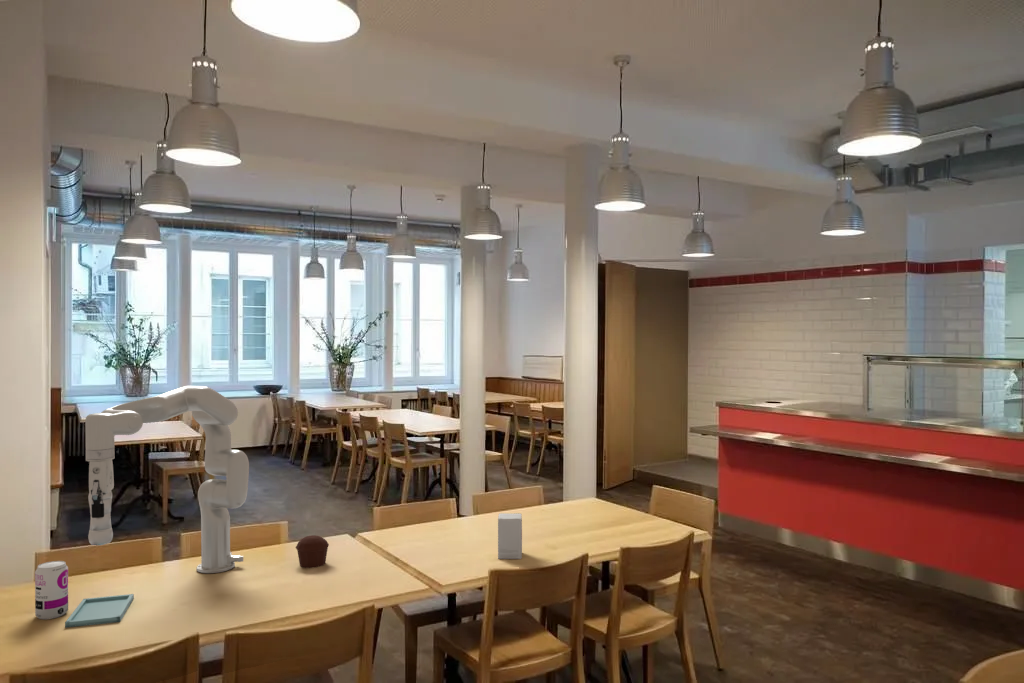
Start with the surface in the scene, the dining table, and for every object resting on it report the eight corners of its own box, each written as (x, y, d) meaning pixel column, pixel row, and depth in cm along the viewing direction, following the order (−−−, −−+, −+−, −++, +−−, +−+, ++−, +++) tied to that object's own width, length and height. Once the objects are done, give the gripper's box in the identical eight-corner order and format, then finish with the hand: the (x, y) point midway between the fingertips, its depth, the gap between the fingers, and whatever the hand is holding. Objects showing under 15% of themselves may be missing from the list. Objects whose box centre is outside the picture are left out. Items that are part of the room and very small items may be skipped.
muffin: (333, 560, 269) (333, 533, 269) (322, 569, 258) (322, 541, 258) (302, 559, 270) (302, 532, 270) (290, 568, 259) (290, 540, 259)
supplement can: (73, 609, 221) (73, 560, 221) (57, 620, 212) (57, 568, 212) (46, 610, 220) (46, 560, 220) (29, 620, 212) (28, 568, 212)
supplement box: (522, 559, 268) (521, 518, 268) (497, 559, 269) (497, 518, 269) (522, 552, 278) (522, 512, 278) (498, 552, 278) (498, 512, 278)
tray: (133, 598, 230) (133, 593, 230) (120, 621, 211) (120, 616, 211) (83, 603, 226) (83, 598, 226) (65, 627, 206) (65, 622, 206)
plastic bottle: (85, 548, 214) (84, 480, 214) (92, 542, 221) (91, 476, 220) (109, 546, 216) (109, 479, 216) (115, 540, 222) (114, 475, 222)
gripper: (107, 458, 211) (108, 520, 211) (120, 449, 228) (121, 507, 228) (78, 459, 209) (78, 522, 209) (93, 451, 225) (93, 509, 225)
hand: (100, 514), depth 218 cm, fingers closed on plastic bottle, 6 cm apart
